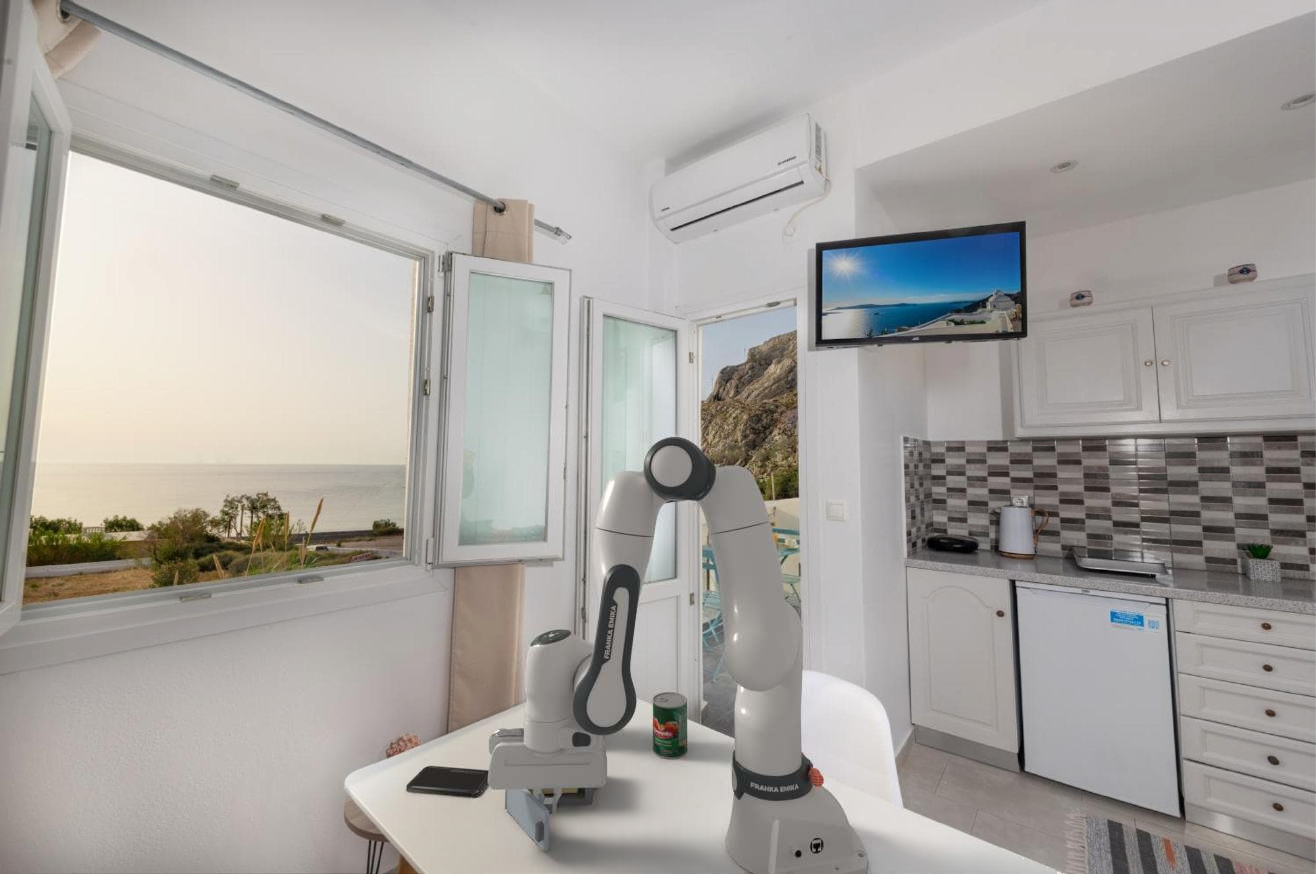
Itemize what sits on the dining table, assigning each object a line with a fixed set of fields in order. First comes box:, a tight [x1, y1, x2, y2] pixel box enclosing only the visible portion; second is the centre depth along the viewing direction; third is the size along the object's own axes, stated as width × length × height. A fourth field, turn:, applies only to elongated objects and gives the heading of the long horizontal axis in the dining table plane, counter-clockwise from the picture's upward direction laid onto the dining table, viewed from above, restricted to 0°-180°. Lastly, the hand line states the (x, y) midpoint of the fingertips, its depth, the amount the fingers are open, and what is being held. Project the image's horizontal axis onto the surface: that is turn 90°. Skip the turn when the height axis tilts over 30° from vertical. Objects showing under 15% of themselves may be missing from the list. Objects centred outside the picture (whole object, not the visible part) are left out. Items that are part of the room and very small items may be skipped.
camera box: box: [528, 788, 596, 807], centre depth 100 cm, size 17×10×7 cm, turn 93°
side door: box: [504, 789, 550, 852], centre depth 88 cm, size 15×2×6 cm, turn 41°
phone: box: [405, 765, 489, 798], centre depth 102 cm, size 8×1×15 cm
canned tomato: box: [652, 691, 689, 760], centre depth 115 cm, size 8×8×11 cm
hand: (548, 811), depth 88 cm, fingers closed
